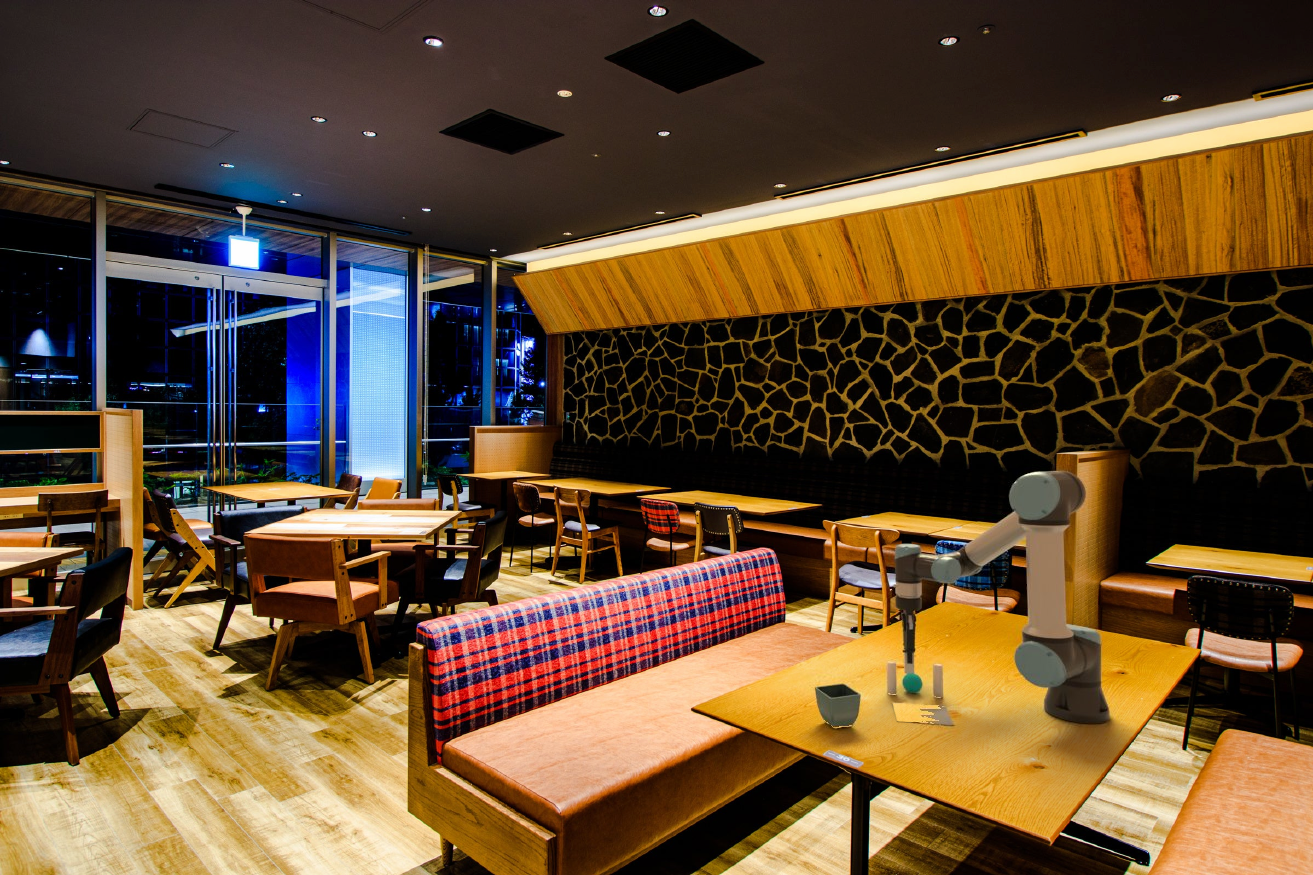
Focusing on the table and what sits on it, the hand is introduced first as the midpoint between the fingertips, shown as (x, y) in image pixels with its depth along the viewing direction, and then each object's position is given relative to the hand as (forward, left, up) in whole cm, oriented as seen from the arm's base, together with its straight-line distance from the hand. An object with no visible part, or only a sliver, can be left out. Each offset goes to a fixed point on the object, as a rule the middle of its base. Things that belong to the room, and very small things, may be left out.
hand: (909, 672), depth 220 cm
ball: (-11, 0, 0) cm, 11 cm away
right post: (-13, -6, -2) cm, 15 cm away
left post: (-13, +6, -2) cm, 15 cm away
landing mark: (-27, 0, -2) cm, 27 cm away
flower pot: (-39, +22, -3) cm, 45 cm away
